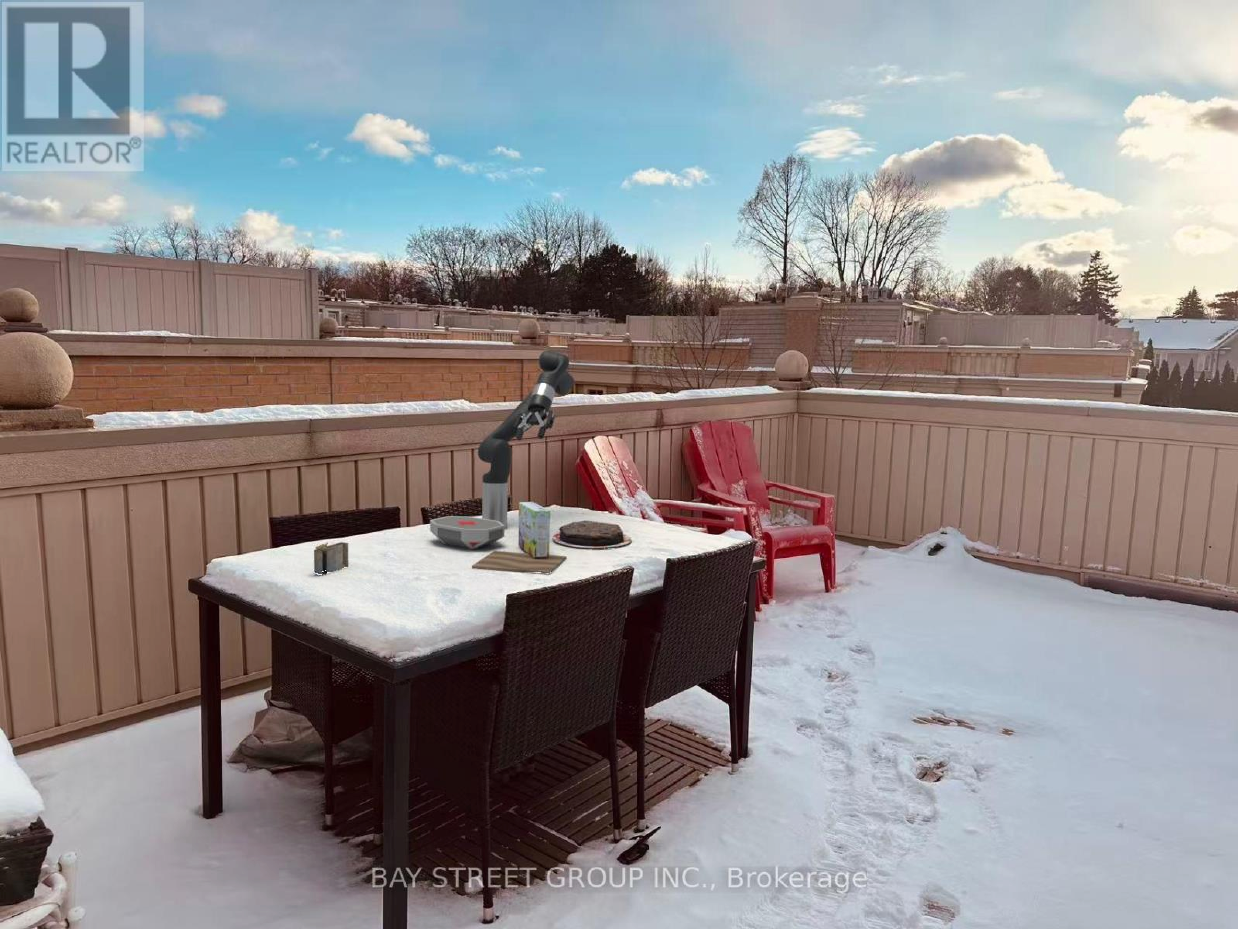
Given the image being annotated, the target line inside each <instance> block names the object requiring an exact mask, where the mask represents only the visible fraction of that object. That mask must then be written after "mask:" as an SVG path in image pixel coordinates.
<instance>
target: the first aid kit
mask: <svg viewBox="0 0 1238 929" xmlns="http://www.w3.org/2000/svg"><path fill="white" fill-rule="evenodd" d="M429 531H430V532H431V533H432V534H433V535H434V536H435V537H436V538H437V539H438V540H439V542H441V543H442V544H443V545H449V544H451V545H450V546H454V545H455V546H456V547H462V548H465V549H470V550H475V549H478V548H482V547H486V546H490V545H492V544H495V543H496V542H497V541H499V540H501V539H503V538H504V537H505V532H506V531H505V525H503V524H502V523H500V522H499V521H494V520H488V519H482V517H476V516H475V517H474V516H463V515H462V516H460V515H459V516H457V515H456V516H454V515H453V516H452V515H451V516H450V515H448V516H443V517H439V518H438V517H437V518H434V519H430V520H429Z"/></svg>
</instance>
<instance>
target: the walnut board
mask: <svg viewBox="0 0 1238 929" xmlns="http://www.w3.org/2000/svg"><path fill="white" fill-rule="evenodd" d="M565 559H566V560H567V556H566V555H557V554H556V555H555V554H553V555H552V554H549V557H542V558H534V557H532V556H531V555H530V554H529V553H527V552H515V551H501V550H500V551H499V550H494V551H491V552H490V553H489V554H487V555H485V556H484V557H483V558H481V559H479V560H478V561H477V562H475V563H473V564H472V565H471V569H474V568H477V570H487V569H488V571H502V572H511V573H512V572H513V573H524V572H541V573H550V572H552V571H553V570H554V569H555V568H556V567H557V566H558V565H559V566H560V565H562V564H563V563H562V561H564V560H565ZM566 560H565V561H566ZM565 561H564V562H565ZM559 566H558V567H559ZM558 567H557V568H558ZM557 568H556V569H557ZM556 569H555V570H556ZM555 570H554V571H555ZM554 571H553V572H554ZM553 572H552V573H553Z"/></svg>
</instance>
